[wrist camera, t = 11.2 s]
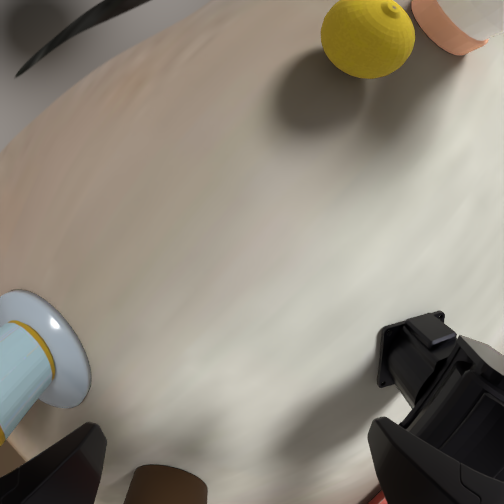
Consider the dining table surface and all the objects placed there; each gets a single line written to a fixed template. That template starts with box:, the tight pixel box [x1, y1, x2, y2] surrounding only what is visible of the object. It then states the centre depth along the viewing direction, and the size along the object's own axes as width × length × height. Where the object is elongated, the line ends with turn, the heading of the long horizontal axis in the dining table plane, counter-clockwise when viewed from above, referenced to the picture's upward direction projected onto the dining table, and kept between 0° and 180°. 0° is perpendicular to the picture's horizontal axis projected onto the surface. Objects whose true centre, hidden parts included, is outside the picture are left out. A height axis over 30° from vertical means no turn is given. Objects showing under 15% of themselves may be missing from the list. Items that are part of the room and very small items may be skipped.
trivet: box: [0, 289, 91, 408], centre depth 20 cm, size 13×13×1 cm
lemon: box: [321, 0, 415, 79], centre depth 12 cm, size 6×6×8 cm
